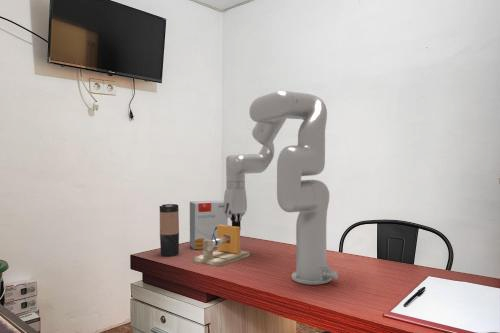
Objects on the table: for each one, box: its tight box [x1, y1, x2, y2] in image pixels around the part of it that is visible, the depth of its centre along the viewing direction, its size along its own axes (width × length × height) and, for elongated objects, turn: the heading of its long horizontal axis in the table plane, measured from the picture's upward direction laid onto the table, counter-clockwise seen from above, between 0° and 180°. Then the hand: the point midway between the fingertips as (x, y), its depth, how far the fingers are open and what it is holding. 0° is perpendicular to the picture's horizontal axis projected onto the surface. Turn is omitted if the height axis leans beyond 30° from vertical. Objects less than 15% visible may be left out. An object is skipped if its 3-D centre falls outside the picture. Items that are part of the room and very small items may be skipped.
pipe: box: [213, 235, 230, 246], centre depth 150 cm, size 3×17×3 cm, turn 144°
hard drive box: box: [189, 199, 229, 250], centre depth 170 cm, size 16×8×20 cm, turn 113°
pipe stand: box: [193, 239, 251, 267], centre depth 150 cm, size 13×18×8 cm
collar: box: [217, 224, 241, 253], centre depth 153 cm, size 10×2×10 cm, turn 54°
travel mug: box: [159, 203, 180, 257], centre depth 157 cm, size 8×8×20 cm
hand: (236, 230), depth 157 cm, fingers closed
